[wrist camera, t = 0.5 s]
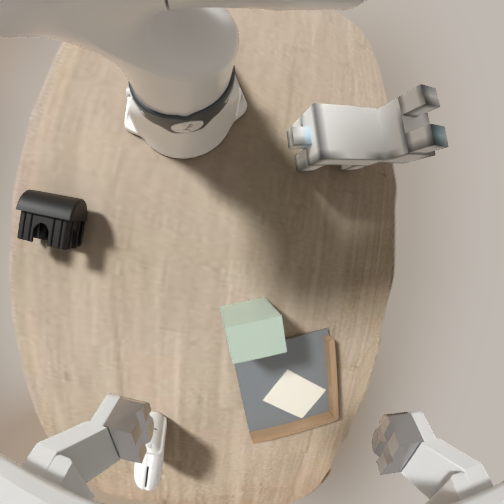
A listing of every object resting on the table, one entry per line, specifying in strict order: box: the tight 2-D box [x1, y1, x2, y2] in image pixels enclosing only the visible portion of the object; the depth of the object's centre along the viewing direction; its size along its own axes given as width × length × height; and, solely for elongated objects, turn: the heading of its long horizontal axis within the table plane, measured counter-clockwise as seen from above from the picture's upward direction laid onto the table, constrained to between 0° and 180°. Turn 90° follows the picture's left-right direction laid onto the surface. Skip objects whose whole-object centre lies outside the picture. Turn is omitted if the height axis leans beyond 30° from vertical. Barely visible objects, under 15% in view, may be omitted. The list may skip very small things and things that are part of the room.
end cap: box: [16, 190, 87, 250], centre depth 37 cm, size 10×7×7 cm
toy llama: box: [287, 85, 448, 172], centre depth 36 cm, size 8×18×20 cm, turn 96°
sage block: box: [220, 297, 287, 364], centre depth 41 cm, size 5×7×10 cm
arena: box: [235, 328, 339, 444], centre depth 47 cm, size 18×16×3 cm
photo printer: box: [134, 412, 167, 491], centre depth 39 cm, size 10×4×12 cm, turn 165°
